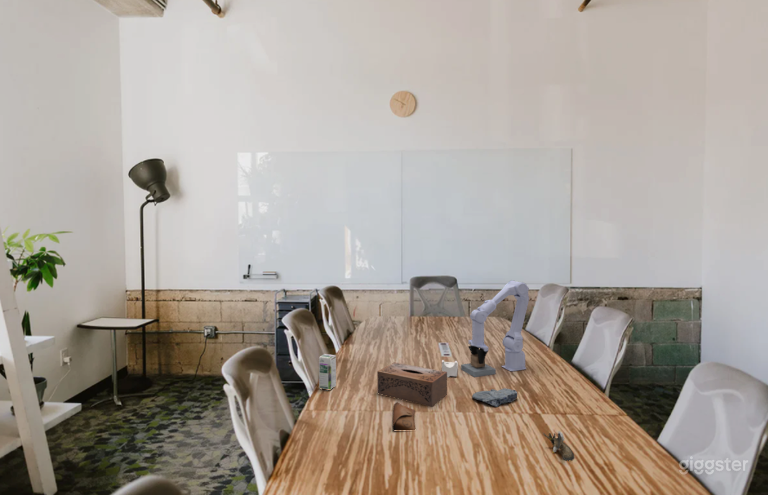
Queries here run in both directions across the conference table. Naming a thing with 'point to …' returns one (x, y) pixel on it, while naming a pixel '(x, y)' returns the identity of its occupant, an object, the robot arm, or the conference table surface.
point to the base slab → (478, 370)
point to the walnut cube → (476, 361)
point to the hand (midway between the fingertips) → (478, 361)
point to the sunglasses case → (403, 417)
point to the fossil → (496, 396)
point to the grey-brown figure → (560, 445)
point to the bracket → (450, 368)
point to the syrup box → (327, 371)
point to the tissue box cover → (412, 383)
